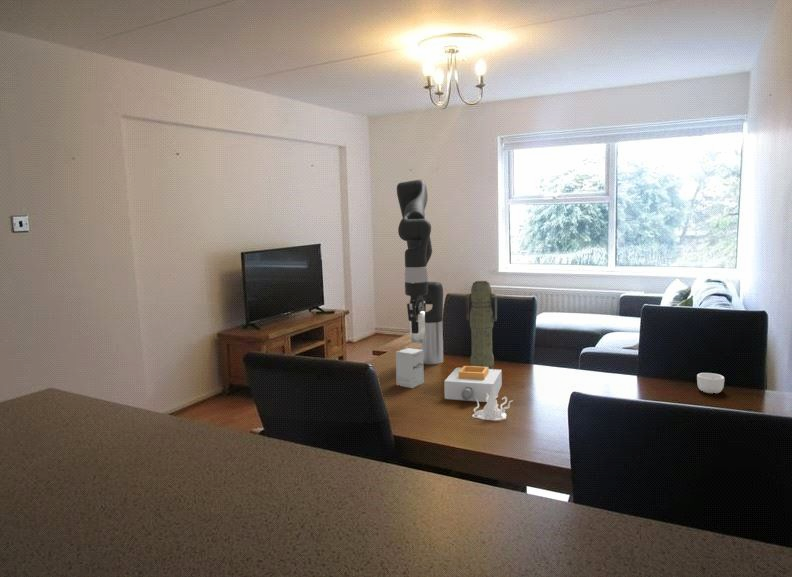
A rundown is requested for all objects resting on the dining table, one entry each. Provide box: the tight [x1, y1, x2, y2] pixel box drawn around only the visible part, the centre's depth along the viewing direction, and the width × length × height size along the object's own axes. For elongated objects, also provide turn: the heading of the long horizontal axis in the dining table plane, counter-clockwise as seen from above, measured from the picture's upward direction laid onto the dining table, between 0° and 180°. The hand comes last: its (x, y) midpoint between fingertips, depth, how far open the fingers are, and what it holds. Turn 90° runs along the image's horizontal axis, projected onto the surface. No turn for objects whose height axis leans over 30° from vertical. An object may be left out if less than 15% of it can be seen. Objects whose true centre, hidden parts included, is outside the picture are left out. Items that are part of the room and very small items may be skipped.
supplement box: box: [395, 347, 425, 389], centre depth 198 cm, size 7×7×13 cm
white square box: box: [443, 365, 503, 403], centre depth 185 cm, size 22×16×8 cm
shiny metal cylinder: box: [409, 311, 425, 344], centre depth 182 cm, size 5×5×10 cm
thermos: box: [464, 280, 498, 369], centre depth 211 cm, size 9×12×35 cm
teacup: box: [696, 372, 725, 394], centre depth 180 cm, size 10×8×5 cm
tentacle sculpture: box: [472, 386, 514, 421], centre depth 163 cm, size 9×12×9 cm
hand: (417, 331), depth 182 cm, fingers closed on shiny metal cylinder, 5 cm apart
